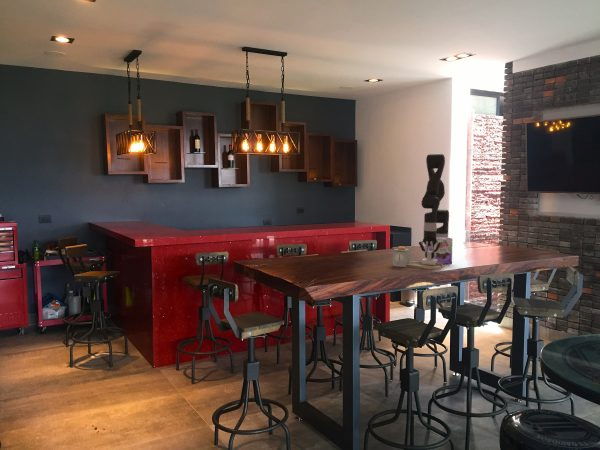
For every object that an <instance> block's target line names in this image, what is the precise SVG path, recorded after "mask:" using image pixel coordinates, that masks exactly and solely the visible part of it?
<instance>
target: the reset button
mask: <svg viewBox="0 0 600 450" xmlns="http://www.w3.org/2000/svg"><path fill="white" fill-rule="evenodd" d="M396 249H397V250H406V249H407V246H401V245H400V246H397V247H396Z"/></svg>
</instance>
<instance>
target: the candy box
mask: <svg viewBox="0 0 600 450" xmlns="http://www.w3.org/2000/svg"><path fill="white" fill-rule="evenodd" d="M436 239H437V241H438V242H441V245H440V247H439V249H438V251H436V252H434V258H433V259H438V262H437V263H442V265H448V264H449V265H450V264H451V265H452V264H453V237H448V238H436ZM436 247H437V243H436V244H435V245H434V250H435V249H436ZM428 251H432V250H431V247H430V246H429V247H428Z"/></svg>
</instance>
